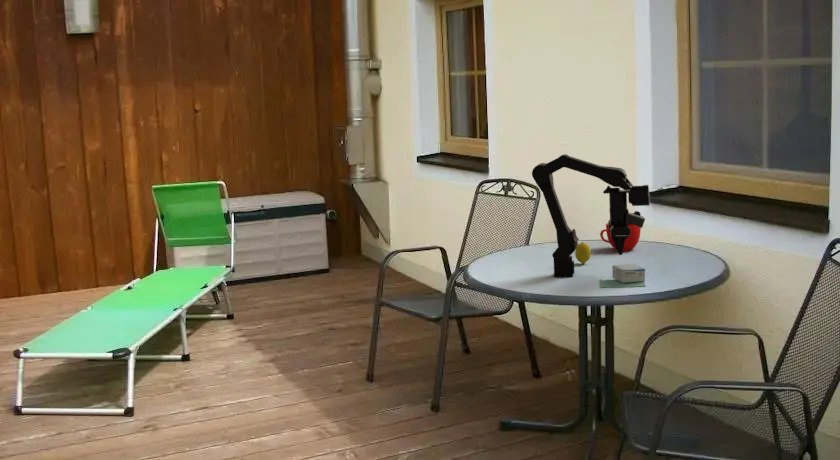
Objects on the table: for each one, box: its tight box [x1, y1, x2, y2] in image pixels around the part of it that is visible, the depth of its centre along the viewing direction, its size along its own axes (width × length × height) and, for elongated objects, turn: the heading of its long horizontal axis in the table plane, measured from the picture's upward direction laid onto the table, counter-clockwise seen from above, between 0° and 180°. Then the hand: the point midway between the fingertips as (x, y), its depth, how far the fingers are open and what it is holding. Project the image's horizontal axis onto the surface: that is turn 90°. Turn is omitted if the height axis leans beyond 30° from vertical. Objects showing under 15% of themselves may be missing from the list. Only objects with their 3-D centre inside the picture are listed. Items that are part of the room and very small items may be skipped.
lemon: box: [574, 241, 592, 265], centre depth 347 cm, size 6×6×8 cm
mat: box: [599, 279, 646, 289], centre depth 313 cm, size 14×10×1 cm
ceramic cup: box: [599, 222, 642, 252], centre depth 367 cm, size 13×17×10 cm
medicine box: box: [611, 263, 646, 283], centre depth 316 cm, size 8×4×9 cm
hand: (619, 252), depth 324 cm, fingers open, 9 cm apart
